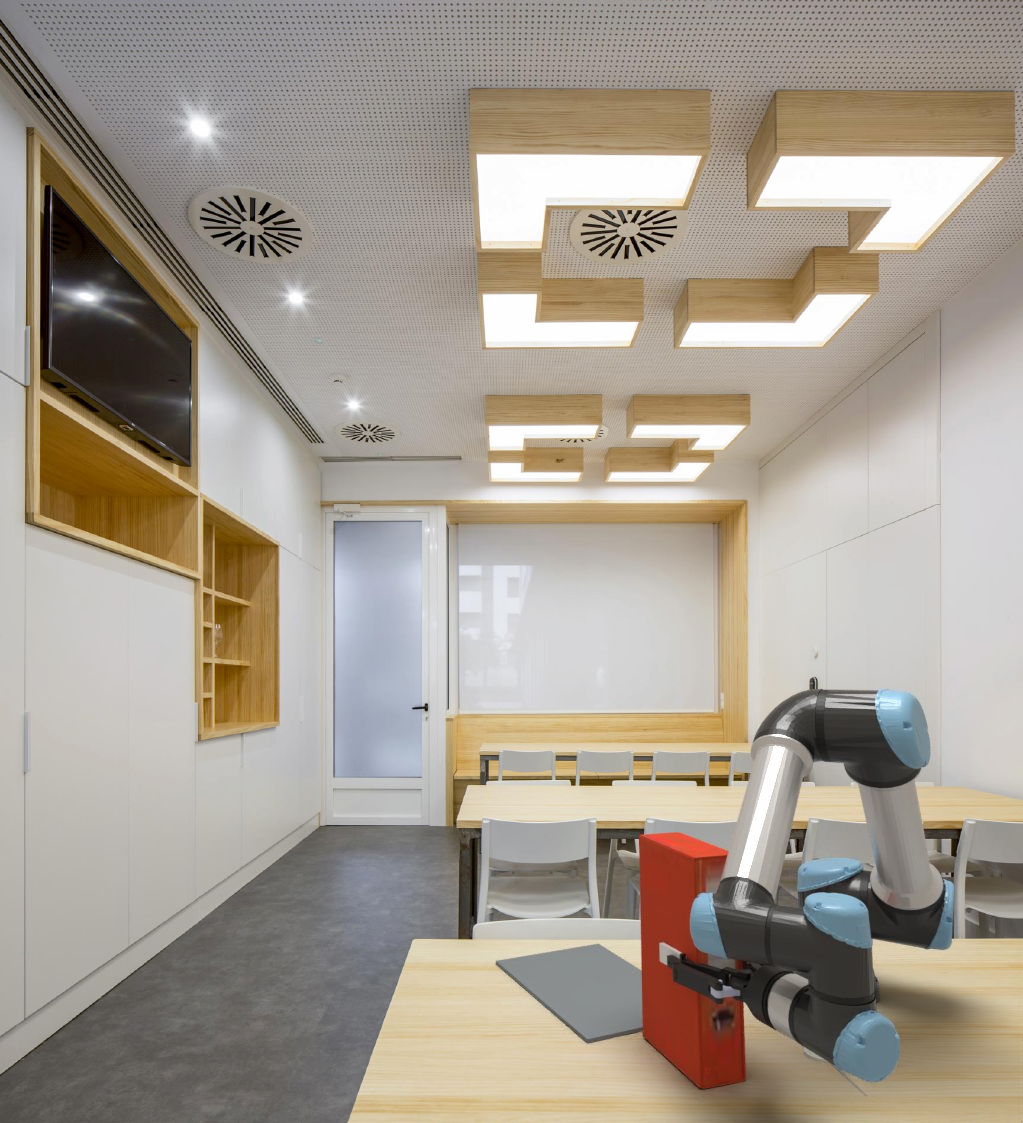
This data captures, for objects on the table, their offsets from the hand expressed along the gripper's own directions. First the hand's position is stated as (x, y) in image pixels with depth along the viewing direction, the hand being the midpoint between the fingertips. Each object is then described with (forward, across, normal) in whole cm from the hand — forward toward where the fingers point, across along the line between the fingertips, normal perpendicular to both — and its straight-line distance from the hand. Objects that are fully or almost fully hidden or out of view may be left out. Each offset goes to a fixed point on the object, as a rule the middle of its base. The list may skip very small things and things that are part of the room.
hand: (684, 947), depth 128 cm
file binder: (-1, 0, -16) cm, 16 cm away
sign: (-13, +18, -17) cm, 28 cm away
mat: (+29, 0, -16) cm, 33 cm away
